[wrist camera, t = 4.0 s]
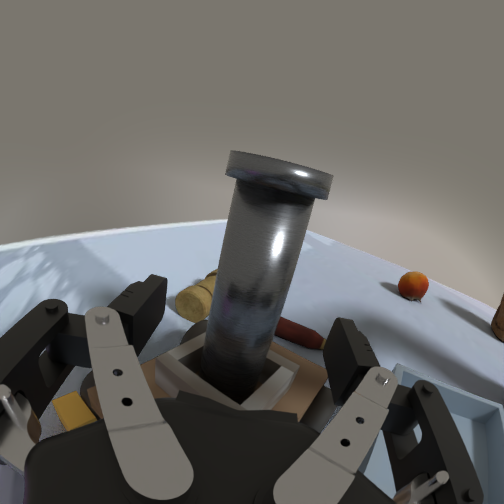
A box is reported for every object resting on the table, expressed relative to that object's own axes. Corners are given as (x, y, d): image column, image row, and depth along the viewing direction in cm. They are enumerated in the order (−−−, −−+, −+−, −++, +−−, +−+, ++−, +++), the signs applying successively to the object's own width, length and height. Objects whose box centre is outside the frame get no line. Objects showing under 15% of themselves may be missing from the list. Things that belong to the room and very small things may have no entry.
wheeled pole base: (208, 349, 30) (220, 288, 27) (326, 418, 23) (362, 359, 20) (86, 414, 16) (67, 344, 14) (230, 543, 9) (262, 523, 7)
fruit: (415, 302, 54) (416, 268, 56) (392, 303, 61) (393, 272, 63) (434, 303, 56) (434, 271, 58) (412, 304, 64) (412, 275, 65)
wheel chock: (93, 405, 17) (88, 385, 17) (113, 430, 16) (108, 411, 15) (60, 420, 14) (51, 400, 14) (78, 447, 13) (69, 429, 12)
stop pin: (219, 355, 21) (264, 159, 16) (273, 389, 19) (344, 180, 14) (173, 385, 17) (208, 146, 12) (232, 429, 14) (311, 167, 10)
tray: (381, 387, 28) (397, 362, 27) (484, 426, 19) (502, 404, 18) (332, 505, 13) (358, 487, 12) (482, 535, 5) (514, 515, 3)
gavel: (341, 317, 38) (338, 356, 29) (328, 342, 39) (321, 383, 30) (213, 263, 43) (177, 284, 33) (206, 289, 44) (172, 314, 35)
